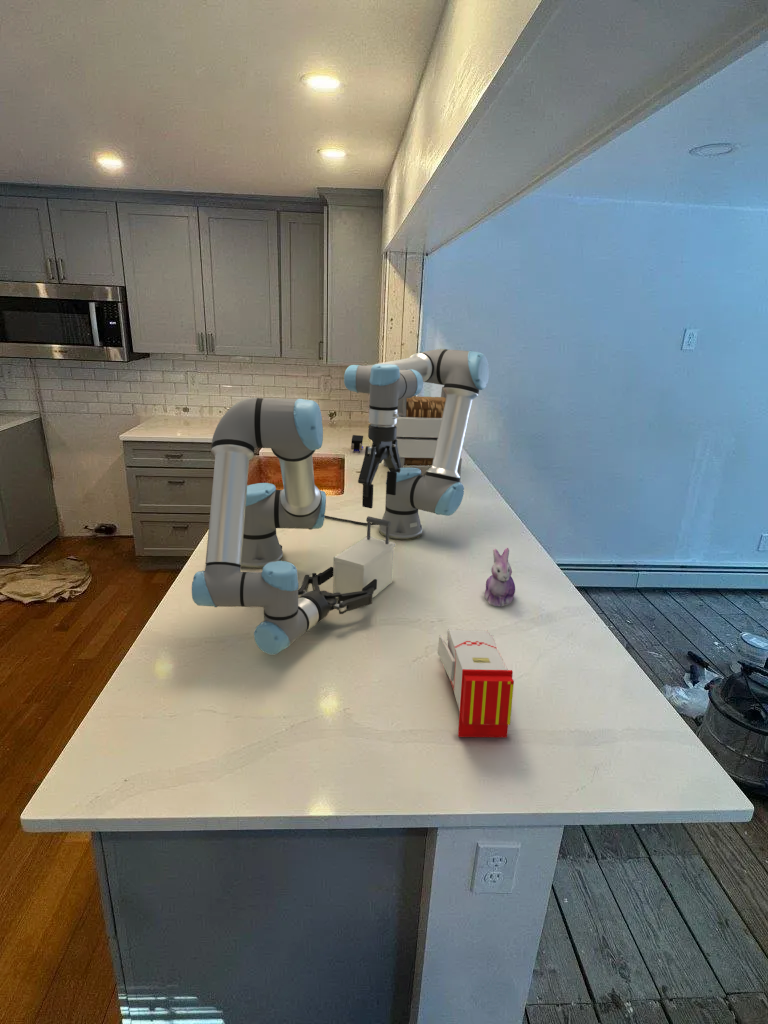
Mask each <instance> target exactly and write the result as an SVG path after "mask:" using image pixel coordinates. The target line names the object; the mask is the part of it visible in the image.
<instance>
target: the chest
mask: <svg viewBox="0 0 768 1024" xmlns="http://www.w3.org/2000/svg"><path fill="white" fill-rule="evenodd" d="M394 555H395V547H394V548H393V549H391V550H390V551H388V552H387V553H386V554H384V555H383V556H382V557H380V558H379V559H377V560H376V561H375V562H373V563H372V564H371V565H369V566H368V567H366V568H365V569H360V568H357V567H353V566H350V565H346V564H342V563H339V562H335V561H334V560H333V577H332V578H333V579H332V580H333V581H332V593H339V592H340V593H341V594H344V593H351V592H358V591H362V588H364V587H365V586H366V585H367V584H369V583H370V582H371V581H373V580H374V579H376V580H377V589H376V590H375V591H374V593H373V594H372V599H373V598H374V597H376V596H377V595H378V594H380V593H381V592H382V591H383V590H384V589H386V588H387V587H388V586H389V585H390V584H392V583H393V577H394V576H393V575H394V573H393V572H394V557H395V556H394ZM336 600H338V597H336Z"/></svg>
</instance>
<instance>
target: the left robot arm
mask: <svg viewBox="0 0 768 1024" xmlns="http://www.w3.org/2000/svg"><path fill="white" fill-rule="evenodd" d="M323 440H324V426H323V417H322V411H321V408H320V406H319V403H318V402H317V401H315V400H312V399H304V398H274V397H273V398H270V397H248V398H245V399H242V400H239V401H238V402H236V403H235V404H233V405H232V406H231V407H230V408H229V409H227V411H226V412H225V413H224V414H223V415H222V417H221V418H220V420H219V422H217V426H216V428H215V430H214V433H213V435H212V440H211V448H210V453H211V455H212V456H214V467H213V476H212V478H213V479H212V486H211V487H212V488H211V497H210V498H211V499H210V510H209V519H208V520H209V521H208V531H207V532H208V533H207V543H206V544H207V545H206V552H205V569H204V570H199V571H198V570H197V571H196V572H195V573H194V575H193V578H192V583H191V597H192V601H193V602H194V604H195V605H197V606H200V607H214V608H219V607H221V608H223V607H226V608H229V607H231V608H232V607H233V608H234V607H235V608H236V607H237V608H239V607H240V608H263V621H261V622H260V623H259V624H258V625H257V626H256V628H255V629H254V631H253V638H254V642H255V644H256V646H257V647H258V648H259V650H261V651H262V652H263V653H265V654H267V655H272V656H274V655H278V654H279V653H280V652H282V651H284V650H285V649H288V648H289V647H290V645H291V644H294V642H296V641H297V640H298V639H299V638H301V637H302V636H303V635H305V634H306V633H307V632H308V631H310V630H311V629H312V628H313V627H315V626H316V625H317V624H319V623H320V622H321V621H323V620H324V619H325V618H327V616H328V614H329V612H330V611H334V610H337V611H338V614H339V615H344V614H346V613H347V612H350V611H353V610H356V609H360V608H363V607H366V606H370V605H372V604H373V598H372V594H373V593H374V591H375V590H376V589H377V580H376V579H374V580H373V581H371V582H370V583H369V584H367V585H366V586H365V587H364V588H362V591H358V592H351V593H344V594H341V593H340V592H339V593H333V592H329V591H327V590H321V588H320V586H321V585H323V584H324V583H326V582H327V581H328V580H330V579H331V578H333V569H334V566H330V567H328V568H326V569H325V570H323V571H321V572H319V573H316V572H313V573H311V576H310V574H305V575H304V578H303V580H302V583H301V585H300V588H299V578H298V569H297V567H296V566H295V565H294V564H293V563H291V562H290V561H285V560H283V558H284V552H283V545H282V544H280V541H279V538H278V535H277V529H291V530H292V529H294V530H295V529H296V530H298V529H299V530H310V531H311V530H319V529H321V528H322V527H323V526H324V523H325V517H324V516H326V515H325V514H326V505H327V504H326V503H327V493H326V492H325V491H324V490H321V489H319V488H318V486H317V485H316V484H315V473H314V472H315V471H314V459H313V455H314V453H315V452H316V450H320V449H321V448H322V446H323ZM256 448H258V449H270V450H271V452H272V453H273V455H274V456H275V457H276V458H277V459H278V461H279V468H280V473H281V480H282V484H283V489H277V487H276V485H275V484H273V483H269V482H257V483H252V484H248V479H249V466H250V461H251V460H252V459H253V458H254V457H255V449H256ZM242 568H244V569H246V568H247V569H261V571H242ZM310 585H311V587H312V590H309V587H310ZM308 590H309V591H308ZM336 597H338V599H336Z"/></svg>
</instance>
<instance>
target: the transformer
mask: <svg viewBox="0 0 768 1024" xmlns="http://www.w3.org/2000/svg"><path fill="white" fill-rule="evenodd" d="M443 389H444V386H442V387H441V392H440V393H441V394H440V396H417V395H416V396H413V397H411V398H404V399H399V400H398V409H397V414H398V417H397V424H395V426H396V427H397V433H396V439H397V447H398V452H399V457H400V462H401V468H405V466H406V467H408V466H411V467H415V466H416V467H417V466H418V467H431V466H432V463H433V458H434V453H435V449H436V444H437V439H438V435H439V430H440V425H441V420H442V416H443V411H444V406H445V401H446V397H447V395H446V393H445V391H444V390H443ZM462 453H463V450H462V451H461V454H462ZM462 461H463V460H462V455H461V456H460V460H459V465H458V470H457V472H458V474H459V476H460V477H461V472H462ZM396 464H397V463H396ZM383 466H384V467H387V465H386V463H385V460H383Z"/></svg>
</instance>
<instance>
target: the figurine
mask: <svg viewBox="0 0 768 1024" xmlns="http://www.w3.org/2000/svg"><path fill="white" fill-rule="evenodd" d="M492 552H493V553H492V554H493V564H492V567H491V569H490V570H491V575H490V576H489V577H488V578H487V579H486V581H485V591H484V599H485V600H486V601H487V603H488V604H489V605H491V606H494V607H504V606H508V605H510V604H511V603H512V602H513V600H514V596H515V593H516V584H515V581H514V579H513V577H512V573H513V570H512V566H511V564H510V562H509V557H510V548H509V547H505V549H504V550H503V552H502V553H501V554H500V552H499V551H498V549H497V548H493V549H492Z"/></svg>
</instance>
